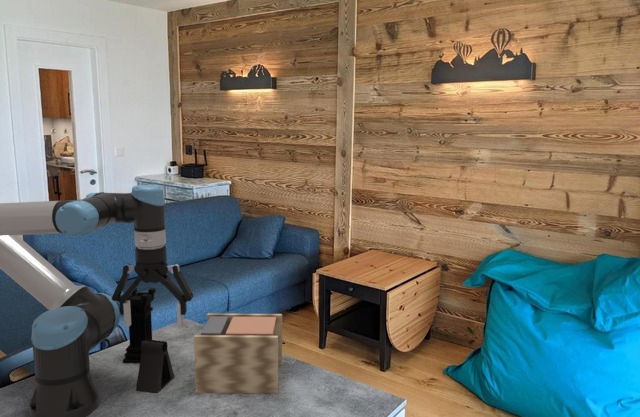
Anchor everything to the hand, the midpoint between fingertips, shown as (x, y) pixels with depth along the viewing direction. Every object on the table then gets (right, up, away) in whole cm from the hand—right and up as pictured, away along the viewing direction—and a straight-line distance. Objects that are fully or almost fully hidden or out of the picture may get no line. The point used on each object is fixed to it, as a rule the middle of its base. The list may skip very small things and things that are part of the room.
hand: (154, 326), depth 134 cm
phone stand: (0, -16, +2) cm, 16 cm away
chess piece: (-9, -13, +18) cm, 25 cm away
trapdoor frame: (+22, -15, +7) cm, 27 cm away
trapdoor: (+22, -4, +5) cm, 23 cm away
